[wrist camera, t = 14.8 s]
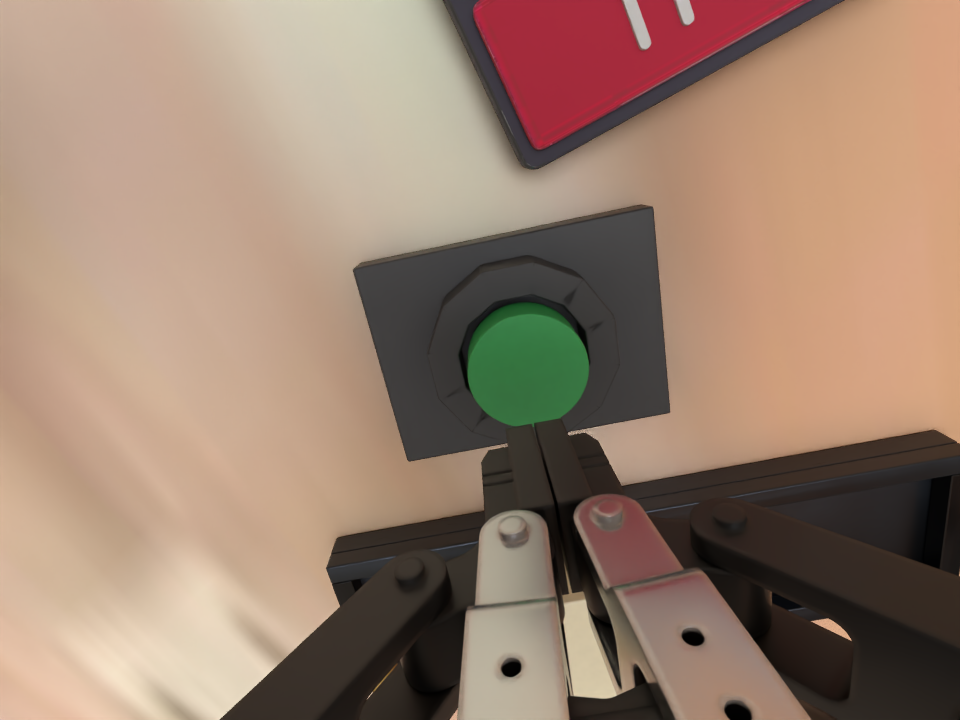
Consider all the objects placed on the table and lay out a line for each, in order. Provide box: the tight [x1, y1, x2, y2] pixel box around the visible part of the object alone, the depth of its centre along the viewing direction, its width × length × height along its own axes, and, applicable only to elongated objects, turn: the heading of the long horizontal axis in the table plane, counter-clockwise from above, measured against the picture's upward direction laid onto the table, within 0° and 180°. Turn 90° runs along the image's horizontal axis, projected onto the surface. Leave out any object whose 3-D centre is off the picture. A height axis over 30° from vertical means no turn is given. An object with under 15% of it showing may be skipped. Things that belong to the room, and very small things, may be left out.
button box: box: [353, 205, 670, 461], centre depth 21 cm, size 12×9×3 cm
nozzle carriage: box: [373, 564, 617, 699], centre depth 23 cm, size 13×9×6 cm
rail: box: [326, 430, 960, 664], centre depth 26 cm, size 30×8×2 cm, turn 101°
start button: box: [468, 302, 589, 427], centre depth 19 cm, size 4×4×2 cm
